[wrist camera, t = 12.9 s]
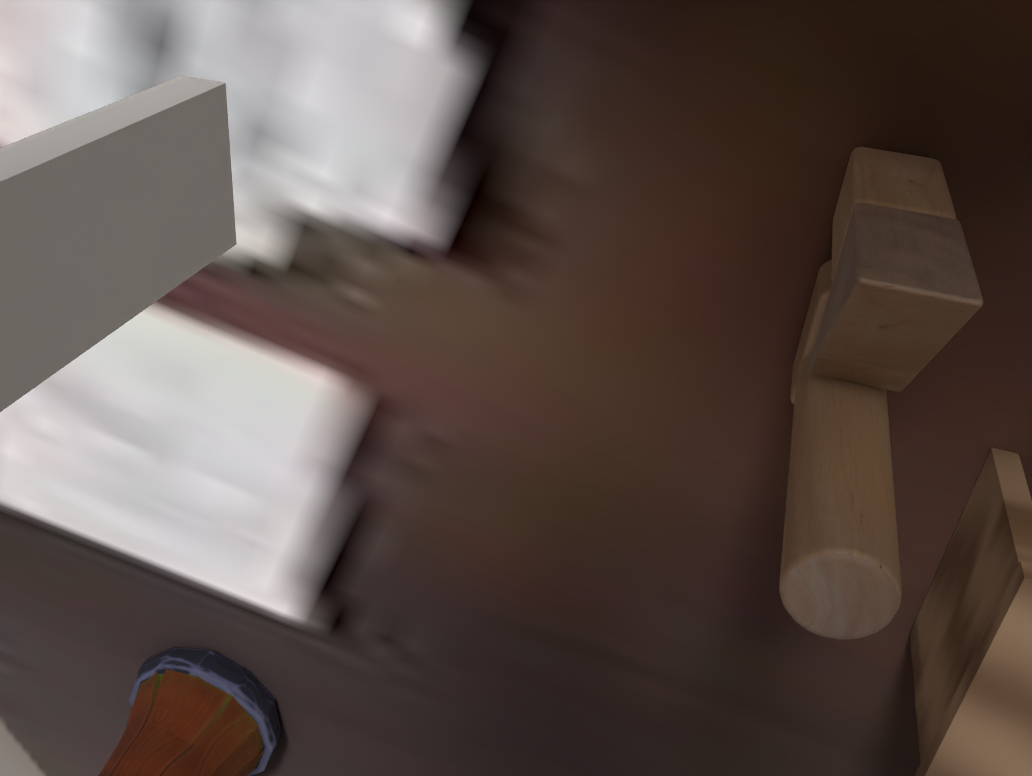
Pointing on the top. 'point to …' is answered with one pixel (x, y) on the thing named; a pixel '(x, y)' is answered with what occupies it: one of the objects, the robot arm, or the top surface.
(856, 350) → the wooden block
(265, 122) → the top surface
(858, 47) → the top surface
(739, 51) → the top surface
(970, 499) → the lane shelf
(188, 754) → the mug
